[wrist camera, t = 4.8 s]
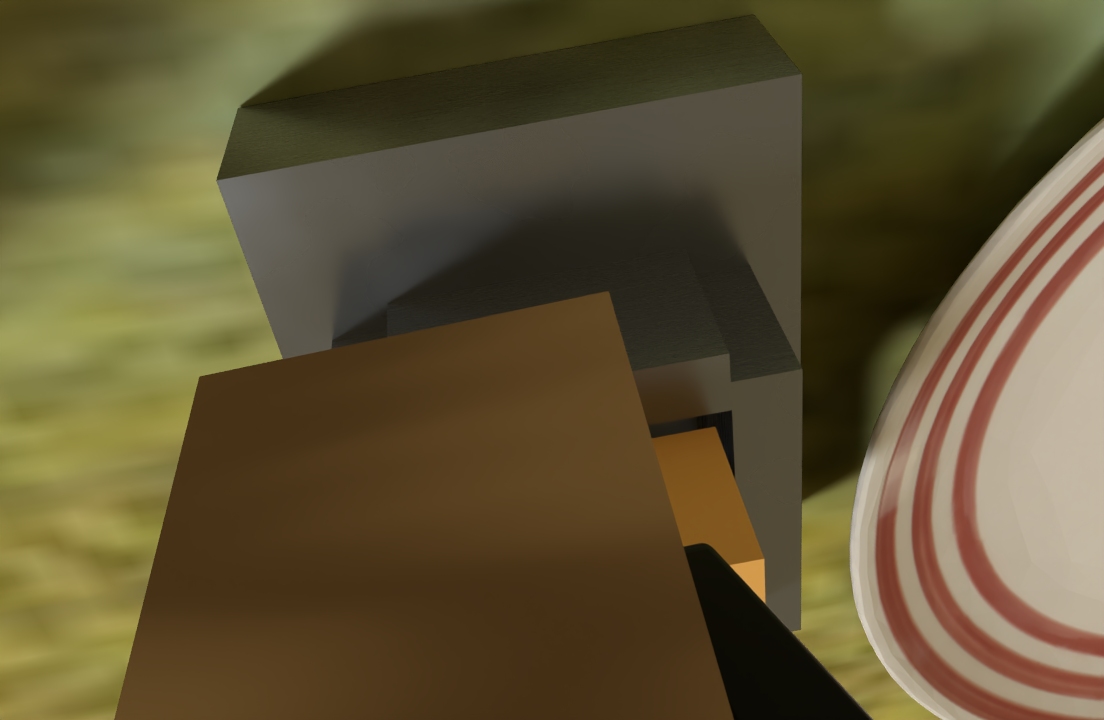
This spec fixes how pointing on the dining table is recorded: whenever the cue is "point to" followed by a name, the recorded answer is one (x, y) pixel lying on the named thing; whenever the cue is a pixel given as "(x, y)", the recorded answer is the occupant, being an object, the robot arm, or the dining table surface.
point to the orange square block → (710, 501)
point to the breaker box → (562, 227)
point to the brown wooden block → (426, 538)
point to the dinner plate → (998, 474)
